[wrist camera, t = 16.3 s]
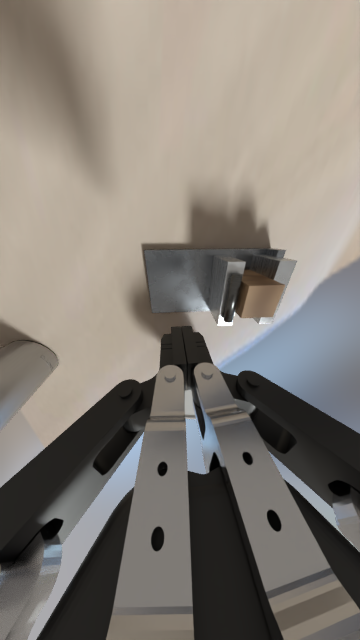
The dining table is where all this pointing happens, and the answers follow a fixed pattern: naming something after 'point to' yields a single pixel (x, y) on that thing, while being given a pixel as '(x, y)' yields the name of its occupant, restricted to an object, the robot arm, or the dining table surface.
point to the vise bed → (205, 275)
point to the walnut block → (258, 296)
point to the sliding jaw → (225, 288)
